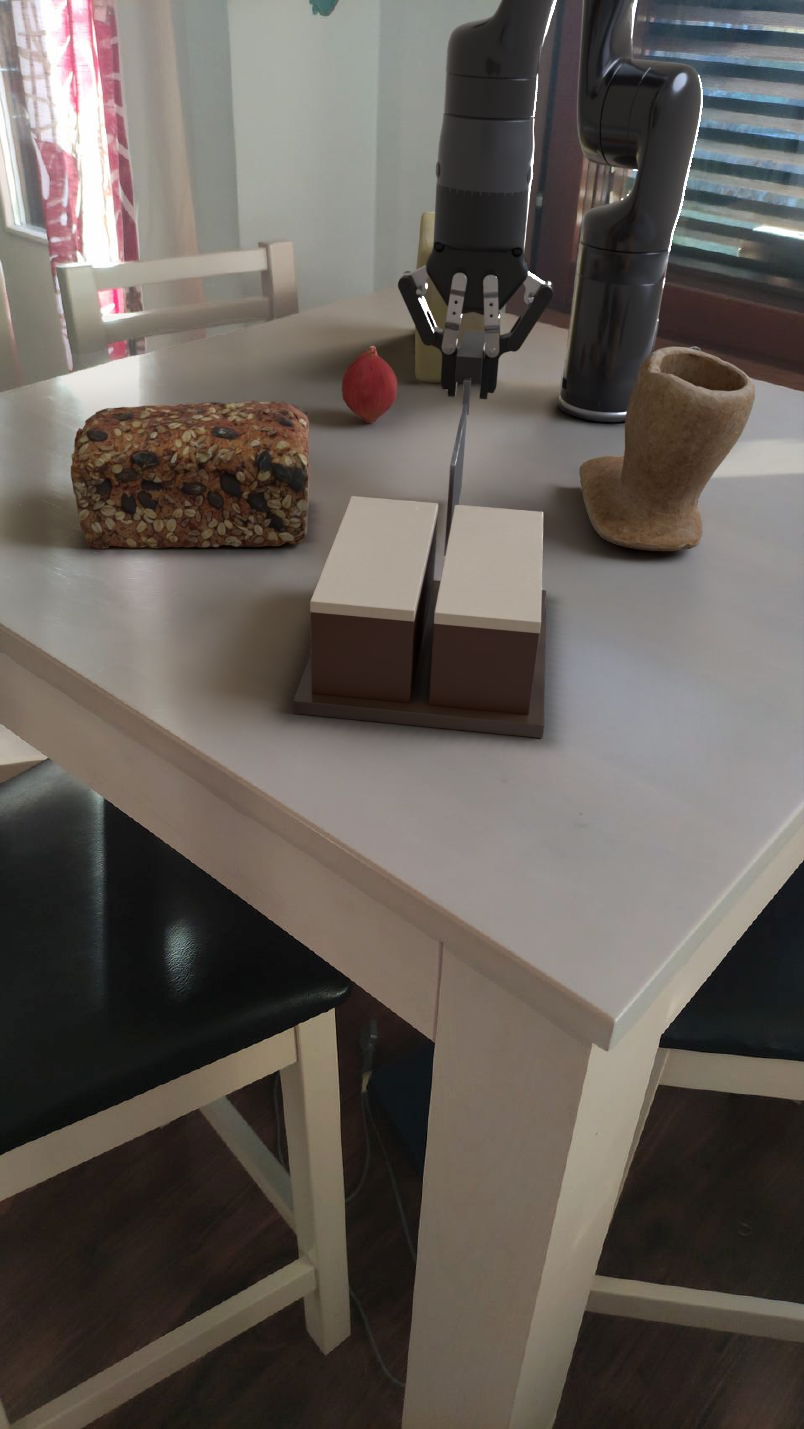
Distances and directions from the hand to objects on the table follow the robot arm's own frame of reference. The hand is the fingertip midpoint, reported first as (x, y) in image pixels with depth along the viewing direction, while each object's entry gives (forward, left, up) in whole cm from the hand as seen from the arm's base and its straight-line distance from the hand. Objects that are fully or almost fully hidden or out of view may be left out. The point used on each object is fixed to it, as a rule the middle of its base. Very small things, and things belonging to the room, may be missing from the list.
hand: (467, 394), depth 94 cm
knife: (+5, +3, -7) cm, 9 cm away
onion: (-6, -17, -9) cm, 21 cm away
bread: (+23, -10, -9) cm, 26 cm away
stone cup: (-5, +17, -9) cm, 20 cm away
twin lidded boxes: (+25, +17, -9) cm, 31 cm away
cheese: (-30, -27, -9) cm, 42 cm away
